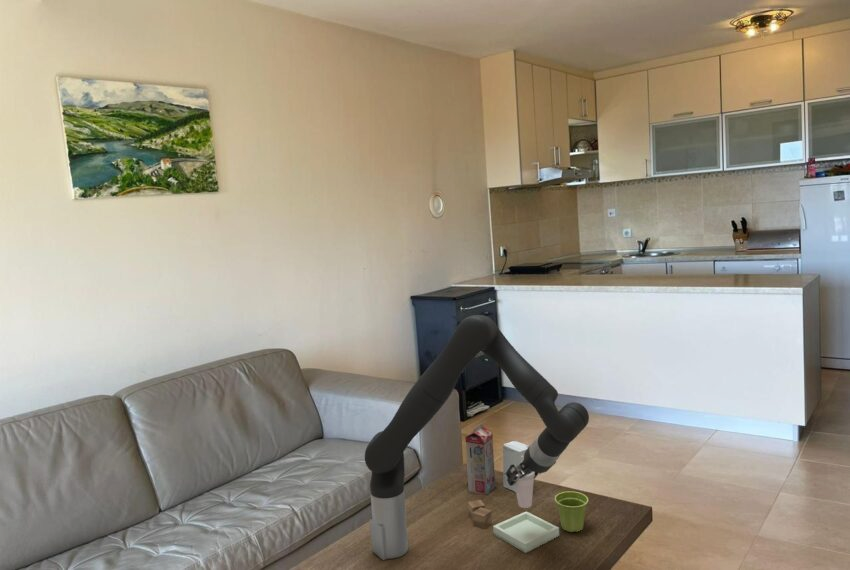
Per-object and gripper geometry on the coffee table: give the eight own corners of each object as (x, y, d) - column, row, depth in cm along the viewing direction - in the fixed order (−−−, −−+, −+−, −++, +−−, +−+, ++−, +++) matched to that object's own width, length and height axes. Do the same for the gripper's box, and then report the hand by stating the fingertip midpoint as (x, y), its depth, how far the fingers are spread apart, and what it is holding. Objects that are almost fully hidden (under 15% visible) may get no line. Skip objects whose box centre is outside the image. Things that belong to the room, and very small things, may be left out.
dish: (525, 553, 169) (525, 544, 169) (493, 534, 180) (493, 526, 180) (559, 536, 177) (558, 527, 176) (526, 519, 187) (526, 511, 187)
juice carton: (495, 486, 210) (491, 422, 208) (486, 494, 205) (483, 429, 202) (477, 483, 214) (473, 420, 211) (468, 491, 208) (464, 427, 205)
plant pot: (595, 525, 181) (594, 496, 180) (578, 539, 174) (577, 509, 173) (566, 516, 188) (565, 488, 187) (549, 529, 181) (548, 500, 180)
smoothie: (535, 499, 180) (533, 452, 178) (537, 510, 174) (535, 461, 172) (513, 499, 181) (510, 453, 179) (514, 510, 174) (511, 461, 173)
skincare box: (503, 487, 209) (500, 444, 208) (516, 481, 213) (513, 439, 211) (521, 495, 203) (519, 451, 201) (534, 489, 206) (532, 445, 204)
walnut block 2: (484, 529, 183) (483, 516, 183) (473, 525, 186) (472, 512, 185) (492, 523, 186) (491, 510, 186) (480, 519, 189) (480, 507, 188)
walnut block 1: (473, 520, 189) (472, 507, 188) (468, 514, 193) (467, 502, 192) (485, 517, 190) (484, 505, 189) (481, 512, 194) (480, 499, 193)
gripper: (558, 434, 171) (535, 461, 183) (514, 445, 165) (493, 473, 177) (572, 459, 167) (547, 485, 179) (526, 472, 161) (504, 498, 173)
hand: (520, 479), depth 178 cm, fingers closed on smoothie, 6 cm apart
